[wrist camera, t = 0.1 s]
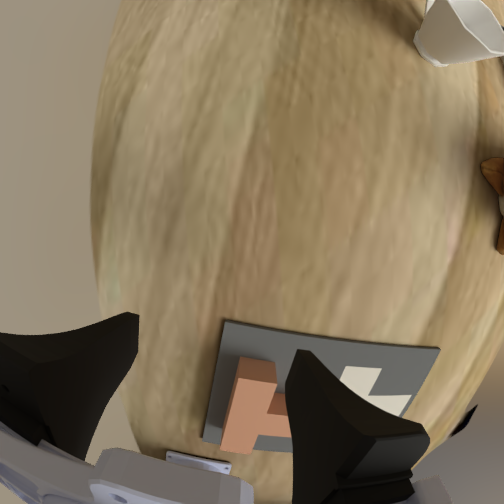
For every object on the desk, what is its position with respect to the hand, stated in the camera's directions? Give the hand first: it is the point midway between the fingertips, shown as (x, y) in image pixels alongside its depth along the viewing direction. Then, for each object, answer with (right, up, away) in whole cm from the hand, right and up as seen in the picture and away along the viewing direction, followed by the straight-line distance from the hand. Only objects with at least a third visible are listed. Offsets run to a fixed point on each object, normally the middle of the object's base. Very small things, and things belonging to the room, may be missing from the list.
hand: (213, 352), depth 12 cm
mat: (+9, -11, +13) cm, 19 cm away
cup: (+19, +25, +5) cm, 31 cm away
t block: (+4, -10, +12) cm, 16 cm away
